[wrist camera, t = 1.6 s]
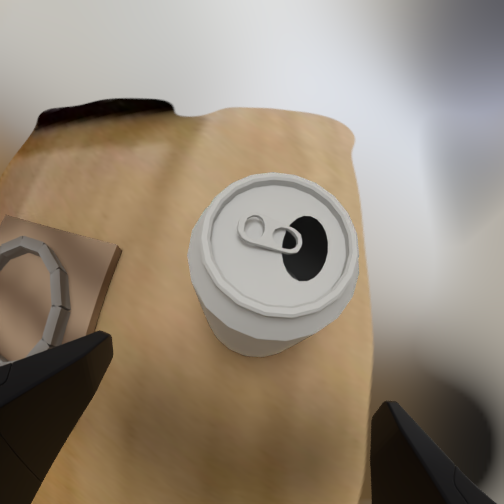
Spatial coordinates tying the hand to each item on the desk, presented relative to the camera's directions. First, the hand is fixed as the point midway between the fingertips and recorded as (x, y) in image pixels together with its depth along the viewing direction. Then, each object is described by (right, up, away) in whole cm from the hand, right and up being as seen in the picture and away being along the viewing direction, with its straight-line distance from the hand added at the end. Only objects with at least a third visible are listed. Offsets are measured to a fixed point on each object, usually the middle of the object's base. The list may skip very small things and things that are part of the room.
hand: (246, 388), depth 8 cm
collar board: (-20, -1, +12) cm, 23 cm away
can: (0, 0, +14) cm, 14 cm away
